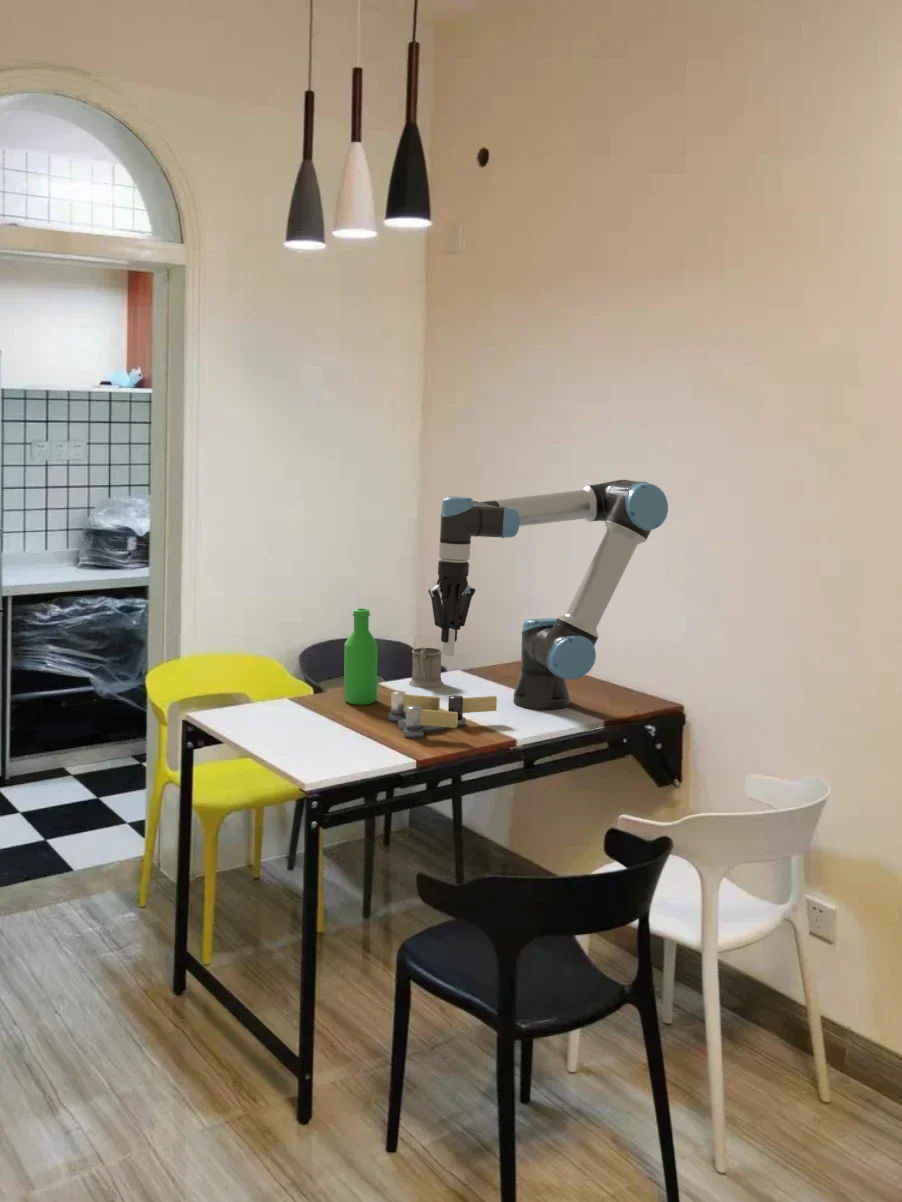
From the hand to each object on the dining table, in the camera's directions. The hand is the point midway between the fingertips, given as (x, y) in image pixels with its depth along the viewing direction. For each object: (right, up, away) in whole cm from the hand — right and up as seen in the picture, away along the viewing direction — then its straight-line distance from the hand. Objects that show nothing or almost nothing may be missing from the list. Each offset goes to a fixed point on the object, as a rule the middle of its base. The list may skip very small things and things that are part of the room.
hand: (447, 654), depth 279 cm
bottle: (-23, -14, +23) cm, 35 cm away
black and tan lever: (+6, -16, +4) cm, 17 cm away
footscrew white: (-8, -15, +5) cm, 18 cm away
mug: (-7, -11, +42) cm, 44 cm away
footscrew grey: (-4, -18, -9) cm, 20 cm away
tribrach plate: (-7, -18, -2) cm, 19 cm away
